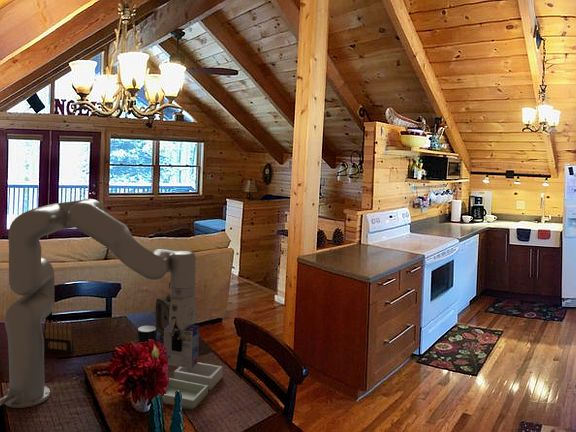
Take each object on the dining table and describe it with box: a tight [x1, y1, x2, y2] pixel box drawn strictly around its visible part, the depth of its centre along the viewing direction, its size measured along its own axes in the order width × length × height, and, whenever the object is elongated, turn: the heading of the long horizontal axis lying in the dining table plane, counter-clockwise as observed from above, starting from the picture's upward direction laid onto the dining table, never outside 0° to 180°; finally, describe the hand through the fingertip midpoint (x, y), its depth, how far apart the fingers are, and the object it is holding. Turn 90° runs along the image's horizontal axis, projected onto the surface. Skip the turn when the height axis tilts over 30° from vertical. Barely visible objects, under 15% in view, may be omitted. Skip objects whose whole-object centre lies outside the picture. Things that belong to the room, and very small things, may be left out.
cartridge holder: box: [173, 361, 224, 391], centre depth 167 cm, size 10×14×4 cm
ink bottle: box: [134, 324, 160, 344], centre depth 180 cm, size 10×9×12 cm
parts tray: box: [162, 377, 209, 411], centre depth 154 cm, size 10×14×3 cm
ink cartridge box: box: [163, 324, 200, 368], centre depth 152 cm, size 10×6×14 cm, turn 78°
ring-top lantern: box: [155, 282, 171, 339], centre depth 198 cm, size 14×9×25 cm, turn 37°
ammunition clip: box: [44, 319, 74, 354], centre depth 184 cm, size 11×2×12 cm, turn 83°
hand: (181, 346), depth 152 cm, fingers closed on ink cartridge box, 5 cm apart
